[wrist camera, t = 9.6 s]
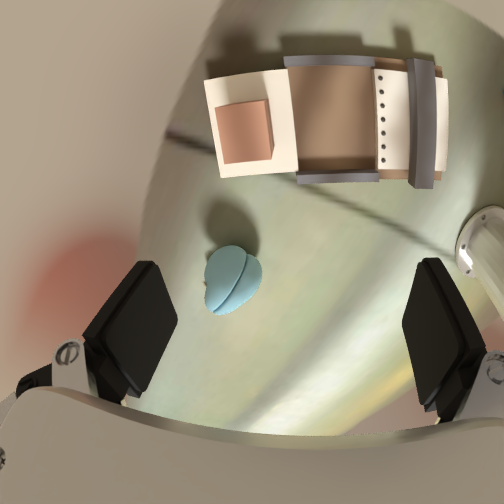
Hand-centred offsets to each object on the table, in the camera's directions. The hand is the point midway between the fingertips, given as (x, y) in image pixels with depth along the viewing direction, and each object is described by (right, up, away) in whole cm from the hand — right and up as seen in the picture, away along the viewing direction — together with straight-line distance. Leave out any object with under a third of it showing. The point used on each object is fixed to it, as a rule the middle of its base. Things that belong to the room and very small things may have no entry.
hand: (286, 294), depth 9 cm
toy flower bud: (-4, -1, +30) cm, 31 cm away
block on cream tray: (-1, +15, +17) cm, 23 cm away
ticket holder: (+12, +16, +16) cm, 26 cm away
